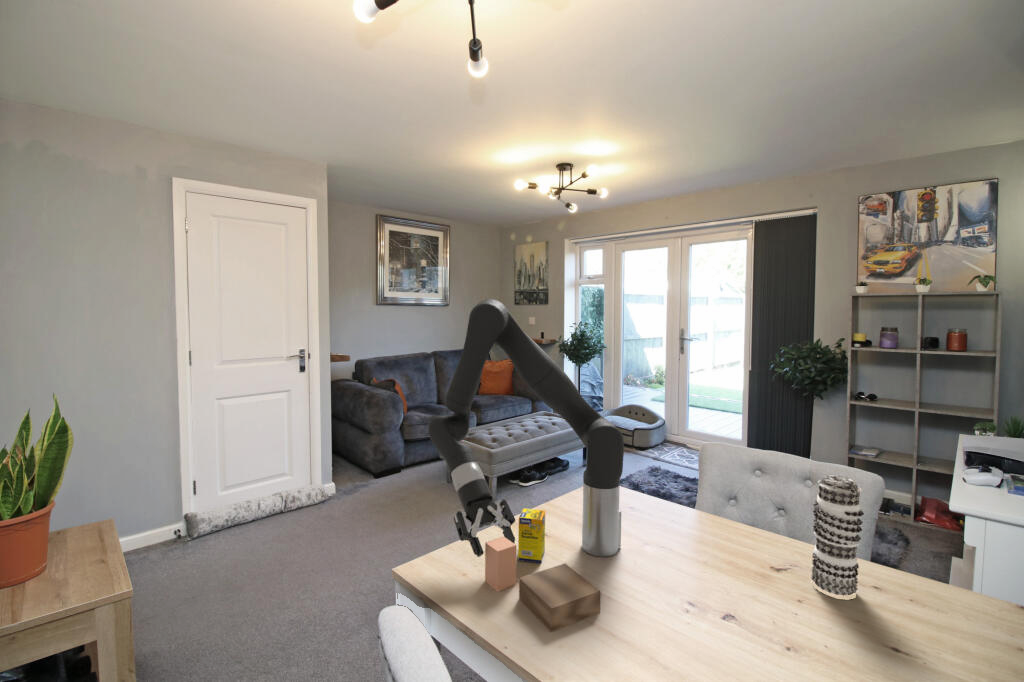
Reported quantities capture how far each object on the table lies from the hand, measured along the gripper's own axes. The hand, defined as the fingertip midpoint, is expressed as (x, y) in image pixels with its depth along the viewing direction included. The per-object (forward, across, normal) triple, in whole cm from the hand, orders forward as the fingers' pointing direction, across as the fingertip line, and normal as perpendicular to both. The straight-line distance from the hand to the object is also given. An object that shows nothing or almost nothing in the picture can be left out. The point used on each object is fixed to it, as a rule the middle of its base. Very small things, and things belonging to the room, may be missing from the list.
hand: (496, 549), depth 109 cm
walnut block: (+16, +5, -6) cm, 18 cm away
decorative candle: (+38, +59, -28) cm, 76 cm away
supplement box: (+3, +13, +8) cm, 15 cm away
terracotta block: (+6, 0, +4) cm, 7 cm away
